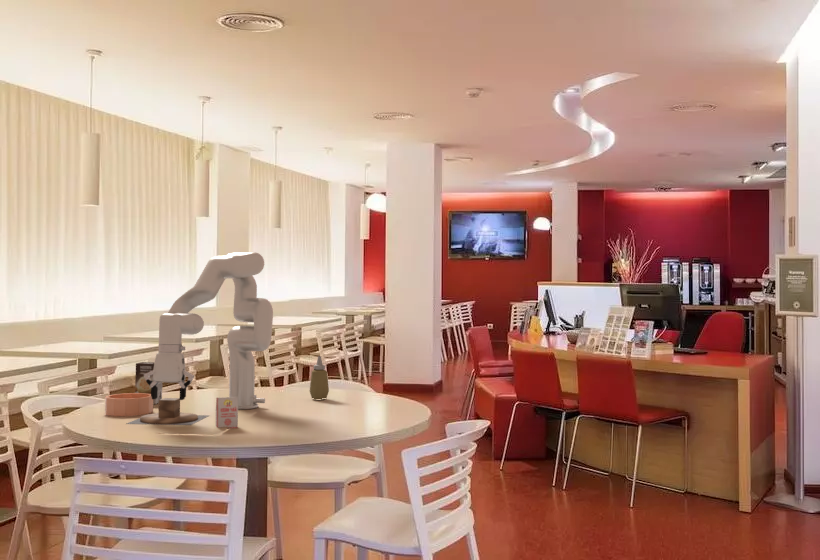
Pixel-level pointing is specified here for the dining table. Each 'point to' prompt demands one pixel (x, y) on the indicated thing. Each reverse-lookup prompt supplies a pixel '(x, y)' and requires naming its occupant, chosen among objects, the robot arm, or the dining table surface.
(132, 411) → the bowl
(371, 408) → the dining table surface
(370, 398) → the dining table surface
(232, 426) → the red and white carton
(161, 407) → the lid
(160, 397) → the coffee box
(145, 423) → the mat
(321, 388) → the squeeze bottle
